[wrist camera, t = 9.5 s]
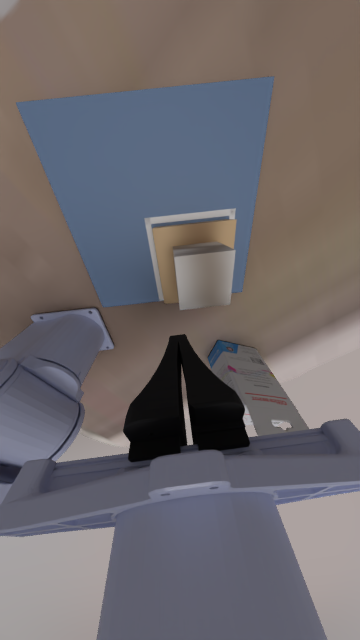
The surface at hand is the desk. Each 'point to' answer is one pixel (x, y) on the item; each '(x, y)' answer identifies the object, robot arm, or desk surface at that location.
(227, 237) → the base slab
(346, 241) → the desk surface
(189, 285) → the top block
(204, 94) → the board
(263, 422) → the ink box
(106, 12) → the desk surface
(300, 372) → the desk surface
